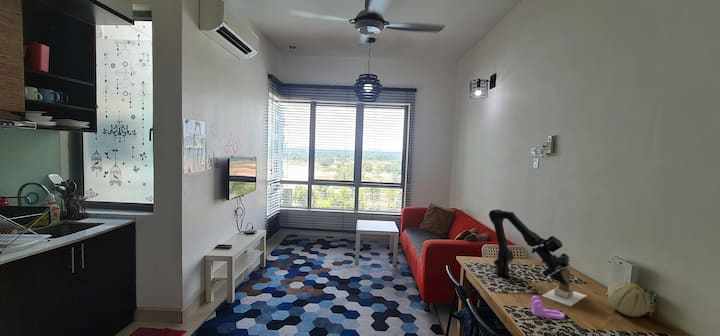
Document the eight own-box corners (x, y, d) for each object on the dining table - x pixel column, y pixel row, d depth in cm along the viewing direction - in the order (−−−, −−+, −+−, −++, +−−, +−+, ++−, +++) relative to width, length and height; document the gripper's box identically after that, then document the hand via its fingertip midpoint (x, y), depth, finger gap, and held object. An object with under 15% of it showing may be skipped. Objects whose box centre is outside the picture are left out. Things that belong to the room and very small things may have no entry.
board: (570, 308, 149) (570, 306, 148) (541, 297, 159) (541, 295, 159) (586, 297, 160) (586, 295, 160) (558, 287, 171) (558, 286, 171)
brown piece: (567, 299, 155) (568, 273, 155) (554, 294, 160) (555, 270, 160) (573, 295, 159) (574, 270, 159) (560, 291, 164) (561, 267, 163)
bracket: (533, 315, 142) (534, 300, 141) (530, 309, 147) (531, 295, 147) (566, 320, 138) (567, 305, 137) (562, 314, 143) (563, 299, 143)
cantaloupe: (607, 303, 155) (609, 273, 154) (647, 313, 145) (649, 282, 145) (606, 314, 143) (609, 283, 142) (650, 326, 134) (652, 293, 133)
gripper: (550, 252, 156) (574, 281, 148) (566, 246, 167) (589, 273, 158) (533, 262, 163) (555, 291, 154) (549, 256, 174) (570, 282, 165)
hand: (568, 284), depth 158 cm, fingers closed on brown piece, 4 cm apart
